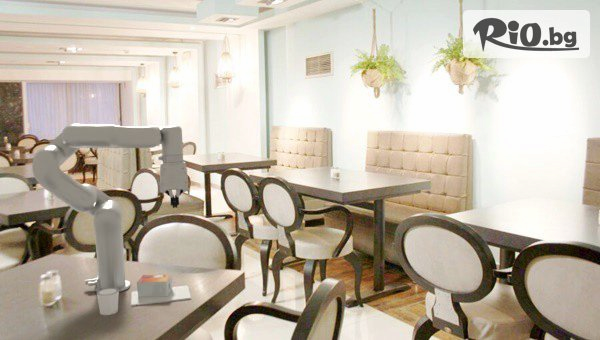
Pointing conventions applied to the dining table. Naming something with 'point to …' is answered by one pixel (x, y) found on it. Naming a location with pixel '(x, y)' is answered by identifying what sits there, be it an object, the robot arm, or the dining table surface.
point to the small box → (154, 285)
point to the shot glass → (108, 301)
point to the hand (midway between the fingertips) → (175, 207)
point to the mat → (174, 295)
